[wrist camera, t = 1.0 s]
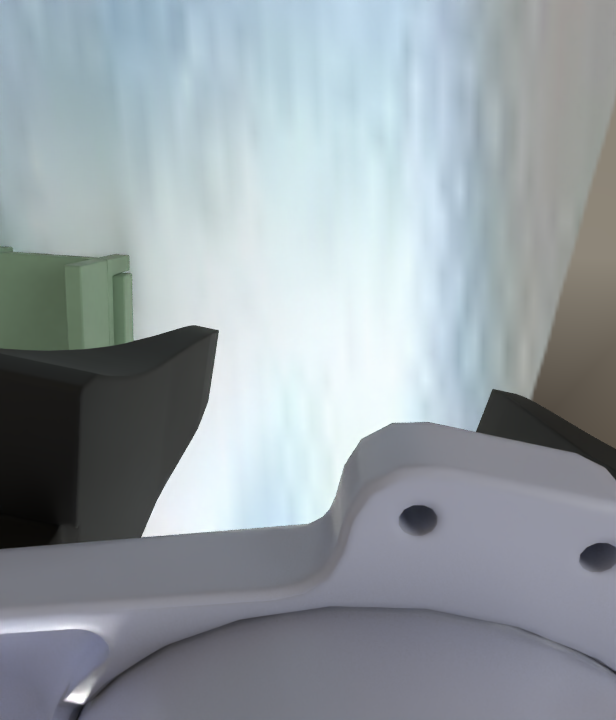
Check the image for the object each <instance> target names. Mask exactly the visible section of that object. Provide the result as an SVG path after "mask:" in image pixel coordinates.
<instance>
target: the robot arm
mask: <svg viewBox="0 0 616 720" xmlns="http://www.w3.org/2000/svg"><path fill="white" fill-rule="evenodd" d="M218 333H219V330H215V329H210V328H205V327H200V326H196V325H192V326H187V327H183V328H179V329H176V330H173V331H169V332H166V333H163V334H159V335H156V336H152V337H148V338H144V339H140V340H136V341H132V342H128V343H124V344H119V345H113V346H107V347H99V348H91V349H76V350H51V351H43V350H18V349H3V348H0V720H616V449H615V448H613V447H611V446H609V445H607V444H605V443H604V442H602V441H600V440H598V439H597V438H595V437H593V436H591V435H590V434H588V433H586V432H584V431H583V430H581V429H579V428H578V427H576V426H574V425H573V424H571V423H569V422H568V421H566V420H564V419H563V418H561V417H559V416H558V415H556V414H554V413H552V412H551V411H549V410H547V409H546V408H544V407H542V406H540V405H539V404H537V403H535V402H533V401H531V400H529V399H527V398H525V397H523V396H520V395H517V394H514V393H509V392H504V391H500V390H495V389H493V390H492V392H491V395H490V397H489V400H488V402H487V405H486V408H485V410H484V413H483V415H482V418H481V420H480V423H479V426H478V428H477V431H476V432H473V431H468V430H464V429H459V428H454V427H449V426H445V425H440V424H435V423H430V422H414V423H391V424H389V425H388V426H386V427H384V428H382V429H380V430H378V431H376V432H374V433H372V434H370V435H368V436H367V437H365V438H363V439H361V440H360V442H359V444H358V445H357V447H356V448H355V450H354V451H353V453H352V454H351V456H350V458H349V459H348V461H347V462H346V464H345V465H344V469H343V472H342V476H341V479H340V483H339V486H338V490H337V493H336V497H335V499H334V501H333V503H332V505H331V508H330V509H329V510H328V512H327V513H326V514H325V515H324V516H323V517H321V518H320V519H318V520H316V521H314V522H311V523H309V524H300V525H288V526H276V527H264V528H252V529H240V530H227V531H215V532H203V533H191V534H179V535H166V536H154V537H142V538H141V536H142V534H143V531H144V529H145V527H146V524H147V522H148V520H149V517H150V515H151V513H152V510H153V508H154V506H155V503H156V501H157V499H158V497H159V495H160V494H161V492H162V490H163V488H164V486H165V484H166V483H167V481H168V479H169V477H170V476H171V474H172V472H173V471H174V469H175V467H176V465H177V464H178V462H179V460H180V459H181V457H182V455H183V453H184V452H185V450H186V448H187V447H188V445H189V443H190V441H191V440H192V438H193V436H194V434H195V433H196V431H197V429H198V426H199V424H200V421H201V419H202V416H203V414H204V411H205V408H206V406H207V403H208V399H209V393H210V386H211V379H212V373H213V366H214V359H215V353H216V346H217V339H218Z"/></svg>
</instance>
